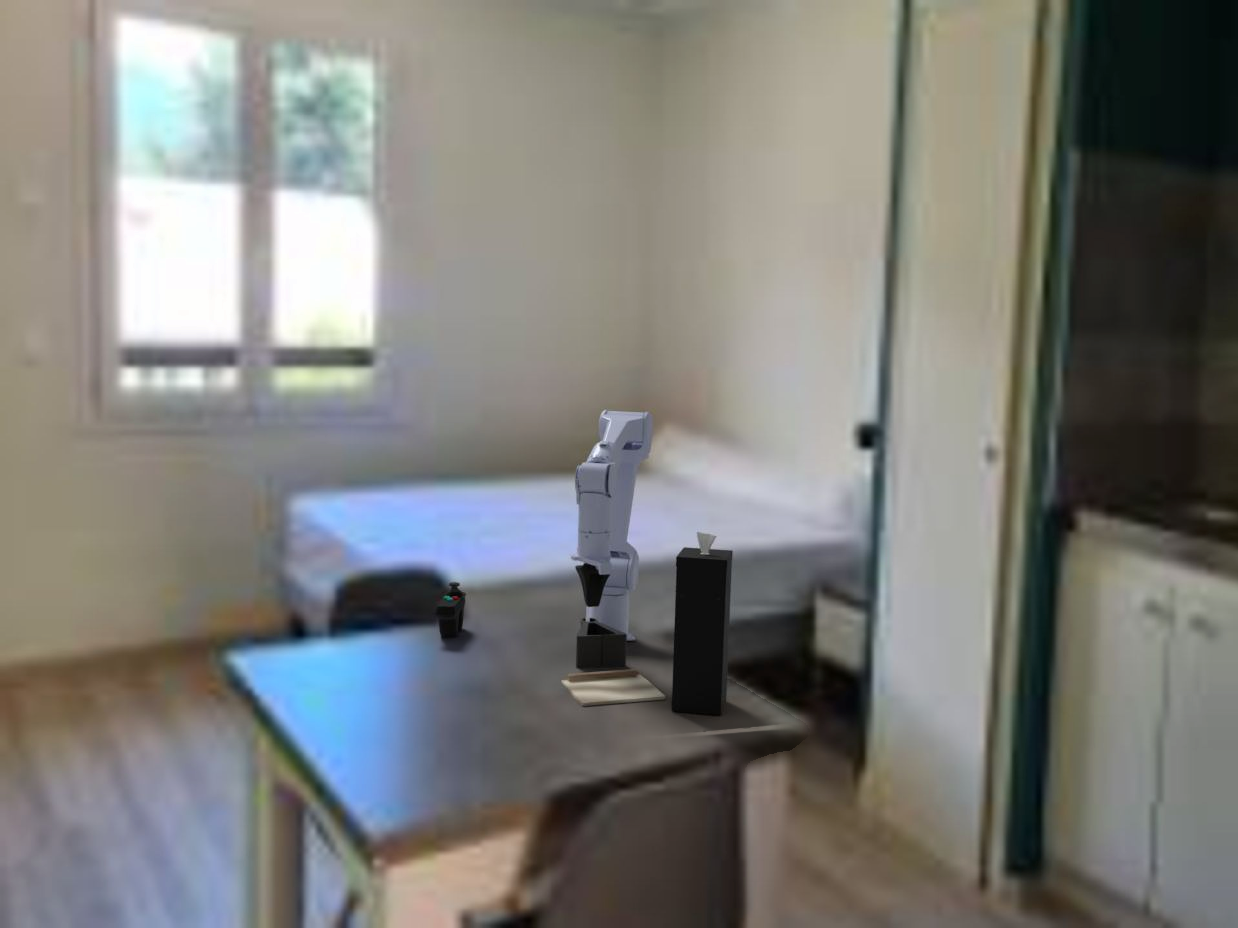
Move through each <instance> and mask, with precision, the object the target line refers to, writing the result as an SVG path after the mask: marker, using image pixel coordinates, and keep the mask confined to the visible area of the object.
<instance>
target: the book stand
mask: <svg viewBox="0 0 1238 928" xmlns="http://www.w3.org/2000/svg"><path fill="white" fill-rule="evenodd" d="M561 684H562V685H563V686H564V687H565V688H566V689H567V691H568V692H569V693H570V694H571V695H572V696H573V697H574V699H575V700H576V701H577V702H578V703H579V704H580V705H581V707H586V706H587V707H588V706H598V705H599V706H601V705H610V704H611V705H612V704H624V703H636V702H637V703H638V702H646V701H647V702H648V701H650V702H651V701H660V700H661V701H662V700H666V696H665V694H664V693H662V692H661V691H660V690H659V689H658V688H656V687H655V686H654V684H652V683H651V682H650V681H649V680H647V678H645V676H643V675H642V674H640V673H639V674H638V670H637V669H636V668H633V669H632V668H630V669H629V668H628V669H617V670H604V671H603V670H602V671H592V672H589V671H588V672H578V673H577V672H574V673H567V677H566V679H561Z"/></svg>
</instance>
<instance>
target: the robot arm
mask: <svg viewBox="0 0 1238 928" xmlns="http://www.w3.org/2000/svg"><path fill="white" fill-rule="evenodd" d="M599 416H600V417H599V420H598V436H599V438H600V439H599V440H600V441H599V442H597V443H595V445H594V446H593V448H592V450H591V452H590V454H589V456H588V458H587V459H586V461H585V462H584V461H583V462H582V463H581V465H580V464H578V465H577V466H576V469H575V475H574V476H575V477H574V487H575V489H574V490H575V494H576V497H575V498H576V505H578V517H577V518H578V520H577V521H578V523H577V547H576V554H570V559H571V561H574V562H575V561H578V562H581V563H583V564H582V565H581V564H579V565H578V564H577V565H575V570H576V573H577V575H578V576H579V580H580V583H581V587H582V593H583V599H584V603H585V607H586V608H585V610H586V611H585V613H586V614H585V618H586V621H587V622H590V618H595V619H597V621H598V622H600V623H602V624H605V625H607V626H610V627H612V628H614V629H617V630H619V631H621V632H624V633H626V634H627V642H628V641H629V642H630V641H635V640H636V637H635V636H633V635H632V634H631V632H629V606H630V604H629V603H630V592H632V591H634V589H635V588H636V587H637V584H638V582H639V581H638V580H639V563H640V556H639V554H638V551H637V549H636V548H635V547H634V546H633V545H632V544H631V543H630V542H628V534H629V528H630V522H631V516H632V507H633V500H634V496H635V495H634V494H635V488H636V487H635V486H636V480H637V474H638V471H639V467H640V464H641V463H642V462H643V461H645V460H647V459H648V458H649V457H650V455H649V454H650V452H651V448H652V442H653V441H652V440H653V434H654V419H653V416H652V414H651V412H649V411H645V412H638V411H617V410H616V411H615V410H608V409H604V410H603V411H602V412H601V414H600V415H599Z"/></svg>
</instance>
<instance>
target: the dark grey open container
mask: <svg viewBox="0 0 1238 928" xmlns="http://www.w3.org/2000/svg"><path fill="white" fill-rule="evenodd" d="M575 643H576V649H575V652H576V653H575V654H576V655H575V668H576V669H585V668H586V669H588V668H592V669H593V668H616V667H621V666H622V667H626V666H627V646H628V645H627V643H628V641H627V634H626V633H624V632H621V631H619V630H617V629H614V628H612V627H610V626H607V625H605V624H602V623H600V622H598V621H597V619H595V618H590V622H587V621H586V617H584V618H583V617H582V618H581V619H580V628H579V630H578V632H577V635H576V642H575Z"/></svg>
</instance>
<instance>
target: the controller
mask: <svg viewBox="0 0 1238 928" xmlns="http://www.w3.org/2000/svg"><path fill="white" fill-rule="evenodd" d="M460 585H461V583H459V582H455V581H451V582H449V583H448V586H449V587H450V589H448V590H447V591H446V592H445V593H443V595H442V596H441V597H440V598H441V600H440V601H439V602H438V604H437V605H436V608H435V611H434V615H435V616H436V617H438V628H439V634H440V636H441V637H442V638H457V637H459V636H460V634H461V632H462V631H463V625H464V616H465V615H464V611H465V606H466V596H467V593H466V592H463V591H461V589H459V588H458V587H460Z"/></svg>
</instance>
